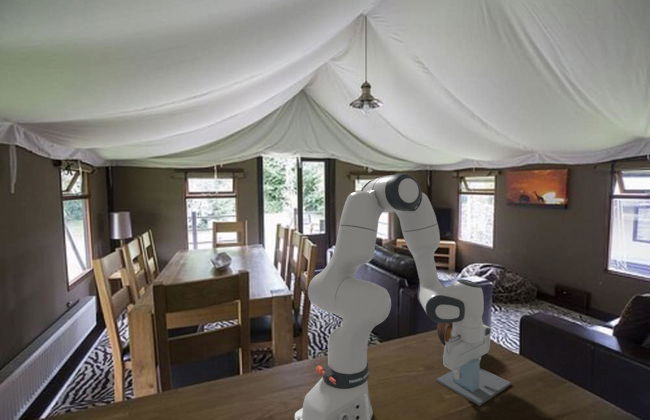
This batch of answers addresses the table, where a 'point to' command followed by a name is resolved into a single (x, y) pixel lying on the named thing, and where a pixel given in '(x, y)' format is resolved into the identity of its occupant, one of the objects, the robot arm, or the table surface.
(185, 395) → the table surface
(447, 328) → the wooden sphere
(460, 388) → the mat
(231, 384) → the table surface
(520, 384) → the table surface
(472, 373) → the block
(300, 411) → the robot arm
